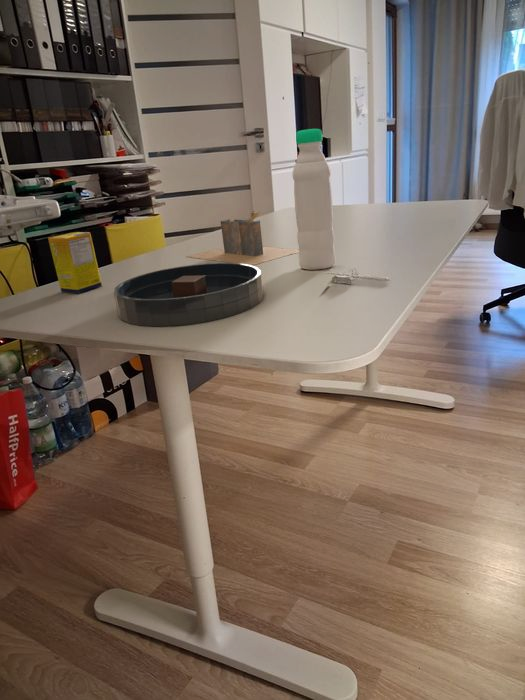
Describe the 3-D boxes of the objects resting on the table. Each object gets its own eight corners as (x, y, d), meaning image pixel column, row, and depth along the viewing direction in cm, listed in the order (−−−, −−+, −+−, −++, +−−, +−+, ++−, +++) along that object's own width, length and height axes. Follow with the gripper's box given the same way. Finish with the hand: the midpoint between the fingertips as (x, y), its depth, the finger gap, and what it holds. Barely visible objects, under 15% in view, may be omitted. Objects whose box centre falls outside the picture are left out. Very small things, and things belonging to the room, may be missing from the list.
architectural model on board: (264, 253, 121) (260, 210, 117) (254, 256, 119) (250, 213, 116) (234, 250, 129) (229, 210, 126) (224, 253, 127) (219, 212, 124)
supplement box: (84, 284, 109) (72, 231, 105) (102, 286, 106) (91, 231, 102) (60, 292, 105) (46, 237, 101) (78, 294, 101) (65, 237, 97)
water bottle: (340, 262, 104) (333, 127, 95) (329, 270, 98) (321, 127, 89) (306, 262, 107) (297, 131, 98) (294, 270, 101) (283, 132, 92)
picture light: (391, 281, 86) (391, 268, 86) (377, 287, 84) (377, 275, 83) (324, 274, 96) (323, 263, 95) (309, 280, 93) (308, 268, 92)
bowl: (187, 339, 69) (182, 307, 68) (90, 318, 84) (84, 291, 82) (292, 294, 85) (290, 267, 84) (195, 283, 100) (192, 260, 98)
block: (197, 306, 82) (193, 281, 80) (175, 306, 83) (171, 282, 82) (208, 299, 85) (204, 275, 84) (186, 299, 87) (183, 275, 85)
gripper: (-54, 207, 109) (-27, 207, 100) (38, 195, 123) (68, 193, 115) (-45, 238, 111) (-17, 239, 103) (44, 222, 126) (75, 222, 117)
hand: (29, 215), depth 109 cm, fingers open, 8 cm apart
